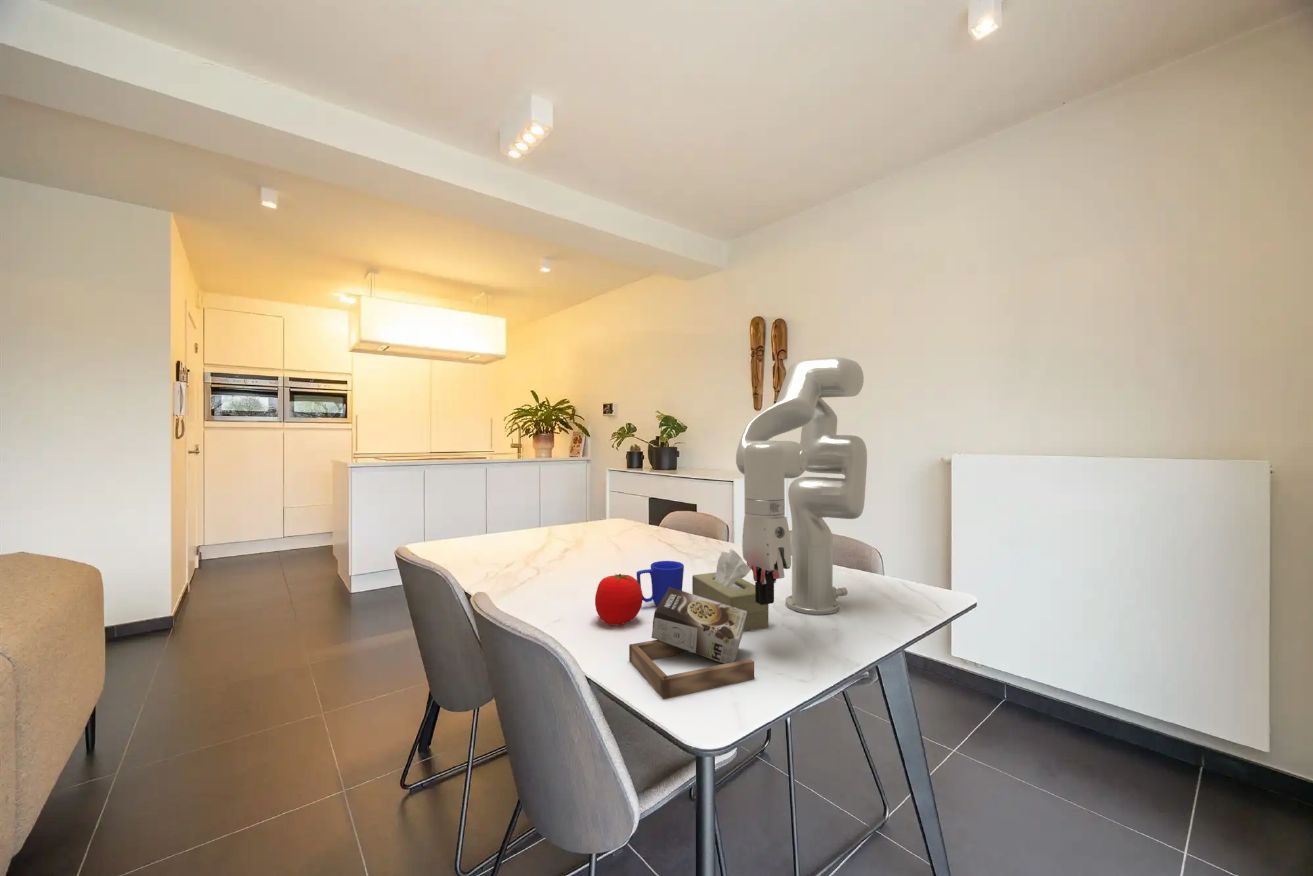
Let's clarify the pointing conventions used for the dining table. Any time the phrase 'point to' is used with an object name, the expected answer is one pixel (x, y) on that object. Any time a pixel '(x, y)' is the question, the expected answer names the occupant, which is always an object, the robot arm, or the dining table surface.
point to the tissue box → (732, 589)
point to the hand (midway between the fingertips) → (764, 602)
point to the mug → (663, 578)
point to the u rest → (687, 680)
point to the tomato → (618, 599)
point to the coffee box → (699, 625)
